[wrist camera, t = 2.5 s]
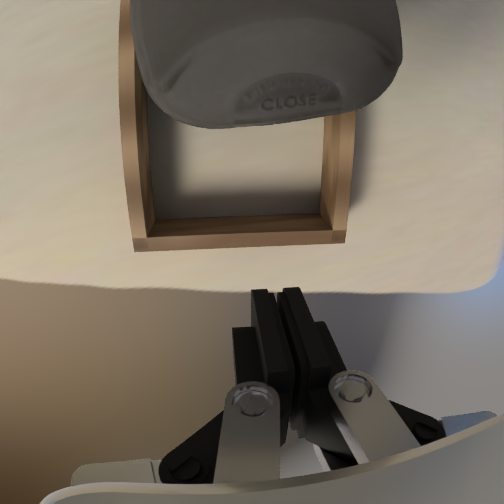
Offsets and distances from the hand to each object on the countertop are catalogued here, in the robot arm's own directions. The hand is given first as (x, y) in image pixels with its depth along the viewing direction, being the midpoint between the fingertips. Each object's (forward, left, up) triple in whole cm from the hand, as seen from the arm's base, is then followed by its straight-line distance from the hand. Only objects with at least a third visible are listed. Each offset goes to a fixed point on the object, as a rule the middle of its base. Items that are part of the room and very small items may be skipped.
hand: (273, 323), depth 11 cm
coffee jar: (-10, 0, -19) cm, 21 cm away
